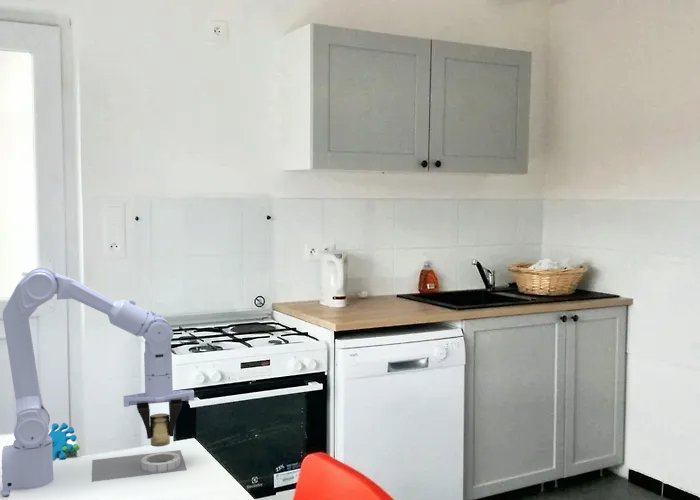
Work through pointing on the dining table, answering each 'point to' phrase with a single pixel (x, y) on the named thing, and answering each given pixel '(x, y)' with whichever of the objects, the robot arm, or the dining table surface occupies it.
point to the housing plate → (137, 465)
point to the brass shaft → (160, 430)
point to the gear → (62, 441)
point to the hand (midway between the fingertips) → (160, 436)
